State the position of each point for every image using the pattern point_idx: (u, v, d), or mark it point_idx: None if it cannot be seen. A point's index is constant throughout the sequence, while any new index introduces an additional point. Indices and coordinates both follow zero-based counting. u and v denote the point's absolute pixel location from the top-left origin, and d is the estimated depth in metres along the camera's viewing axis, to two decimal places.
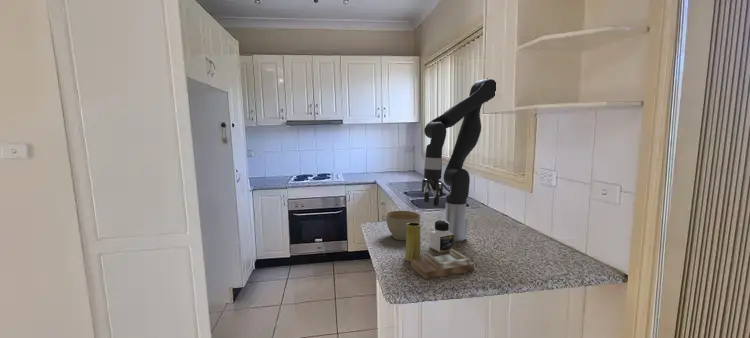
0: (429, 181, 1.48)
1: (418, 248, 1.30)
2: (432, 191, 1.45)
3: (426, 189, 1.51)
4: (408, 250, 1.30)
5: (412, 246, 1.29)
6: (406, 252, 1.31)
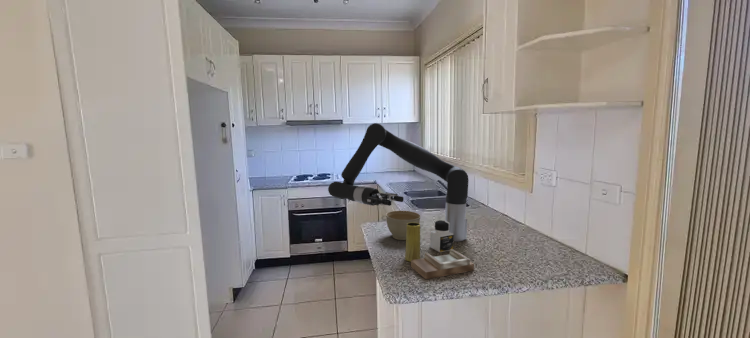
0: None
1: (418, 248, 1.30)
2: None
3: None
4: (408, 250, 1.30)
5: (412, 246, 1.29)
6: (406, 252, 1.31)
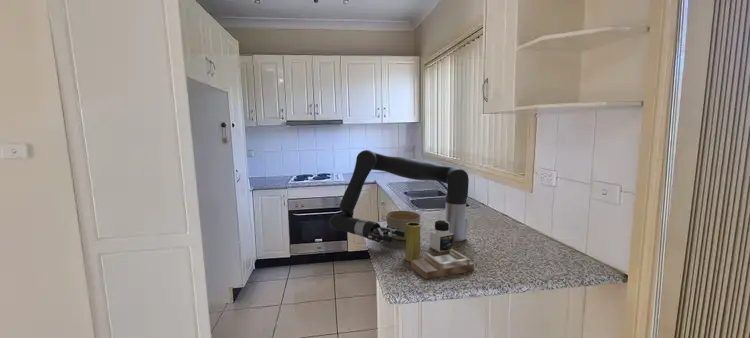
0: None
1: (418, 248, 1.30)
2: None
3: (389, 235, 1.42)
4: (408, 250, 1.30)
5: (412, 246, 1.29)
6: (406, 252, 1.31)
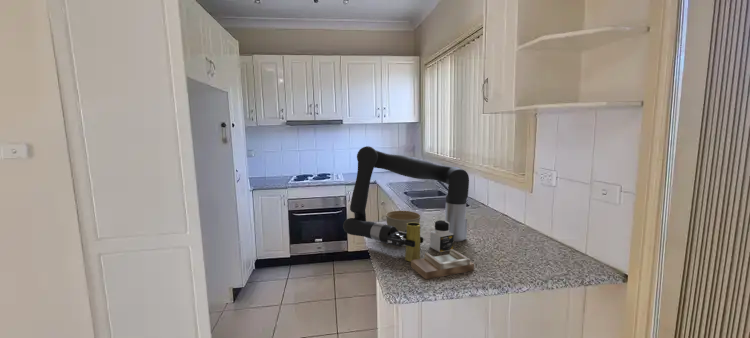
0: None
1: (418, 248, 1.30)
2: None
3: None
4: (408, 250, 1.30)
5: None
6: (406, 252, 1.31)
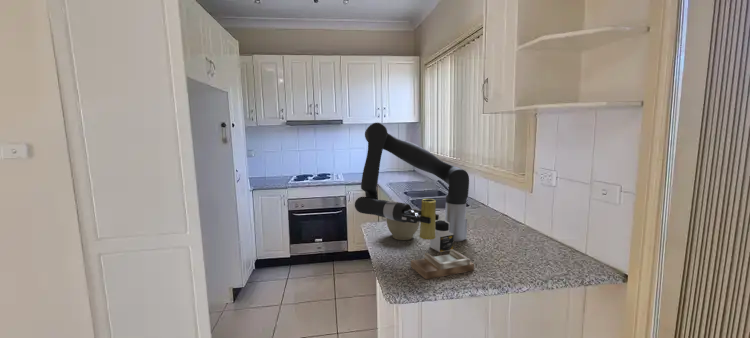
0: None
1: (434, 225, 1.25)
2: None
3: None
4: (423, 227, 1.25)
5: None
6: (421, 229, 1.27)
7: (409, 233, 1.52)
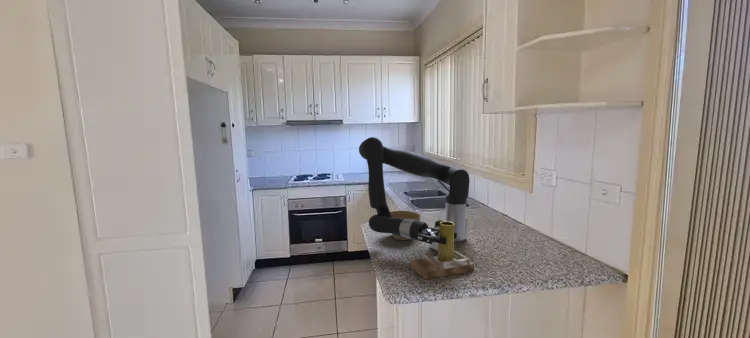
0: None
1: (452, 249, 1.22)
2: None
3: None
4: (441, 251, 1.22)
5: (446, 247, 1.21)
6: (439, 253, 1.23)
7: None
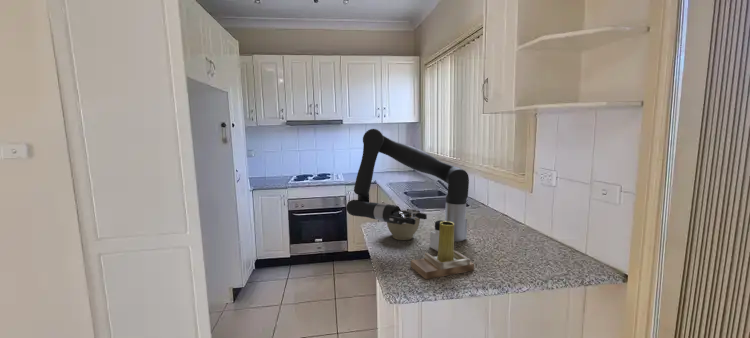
0: None
1: (452, 249, 1.22)
2: None
3: (410, 218, 1.37)
4: (441, 251, 1.22)
5: (446, 246, 1.21)
6: (439, 253, 1.23)
7: (409, 233, 1.52)
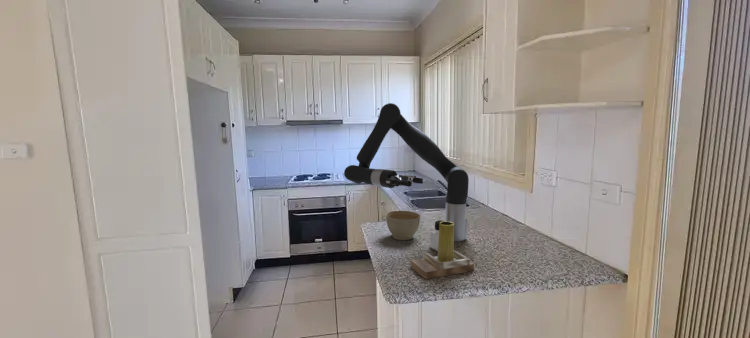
0: None
1: (452, 249, 1.22)
2: None
3: None
4: (441, 251, 1.22)
5: (446, 246, 1.21)
6: (439, 253, 1.23)
7: (409, 233, 1.52)
